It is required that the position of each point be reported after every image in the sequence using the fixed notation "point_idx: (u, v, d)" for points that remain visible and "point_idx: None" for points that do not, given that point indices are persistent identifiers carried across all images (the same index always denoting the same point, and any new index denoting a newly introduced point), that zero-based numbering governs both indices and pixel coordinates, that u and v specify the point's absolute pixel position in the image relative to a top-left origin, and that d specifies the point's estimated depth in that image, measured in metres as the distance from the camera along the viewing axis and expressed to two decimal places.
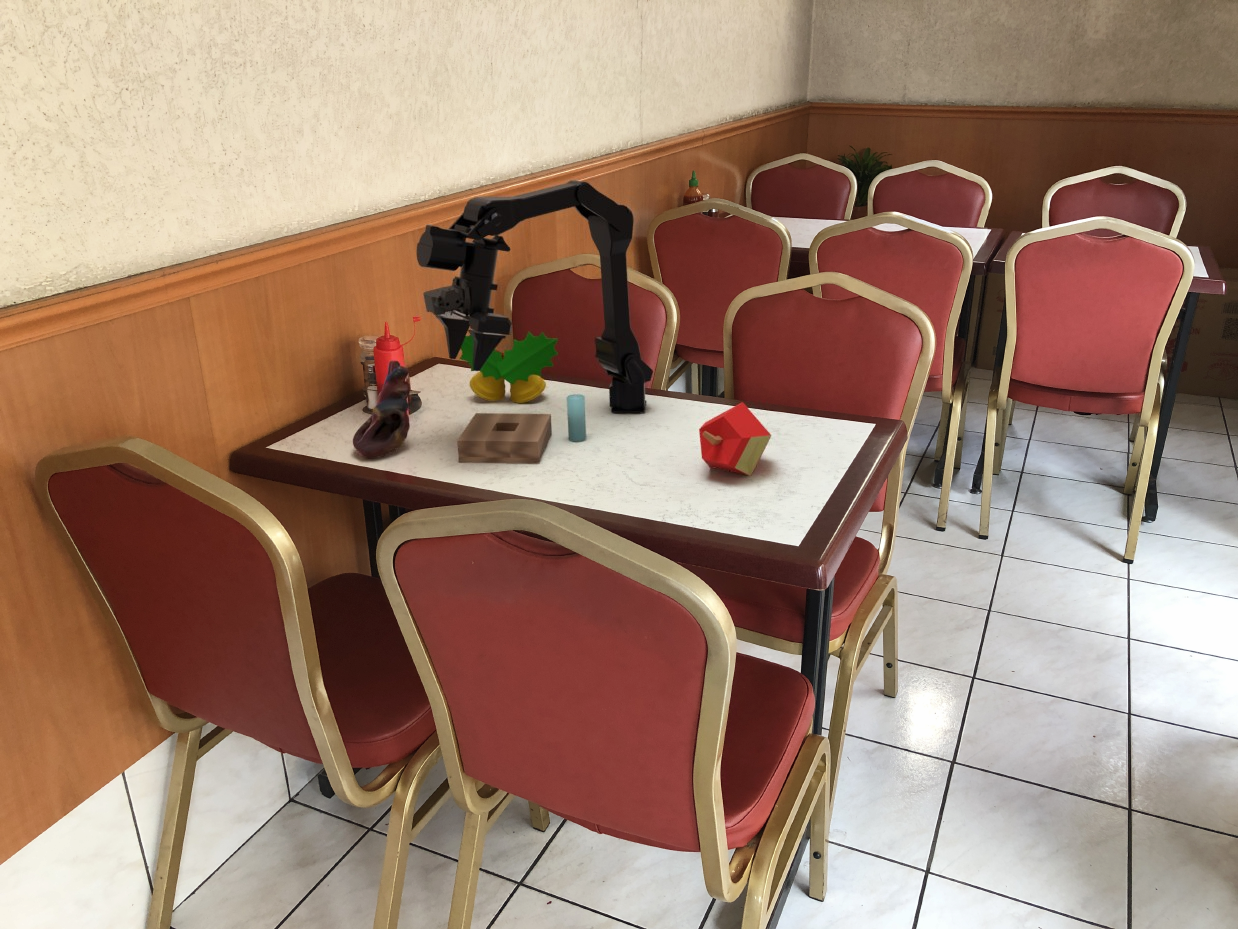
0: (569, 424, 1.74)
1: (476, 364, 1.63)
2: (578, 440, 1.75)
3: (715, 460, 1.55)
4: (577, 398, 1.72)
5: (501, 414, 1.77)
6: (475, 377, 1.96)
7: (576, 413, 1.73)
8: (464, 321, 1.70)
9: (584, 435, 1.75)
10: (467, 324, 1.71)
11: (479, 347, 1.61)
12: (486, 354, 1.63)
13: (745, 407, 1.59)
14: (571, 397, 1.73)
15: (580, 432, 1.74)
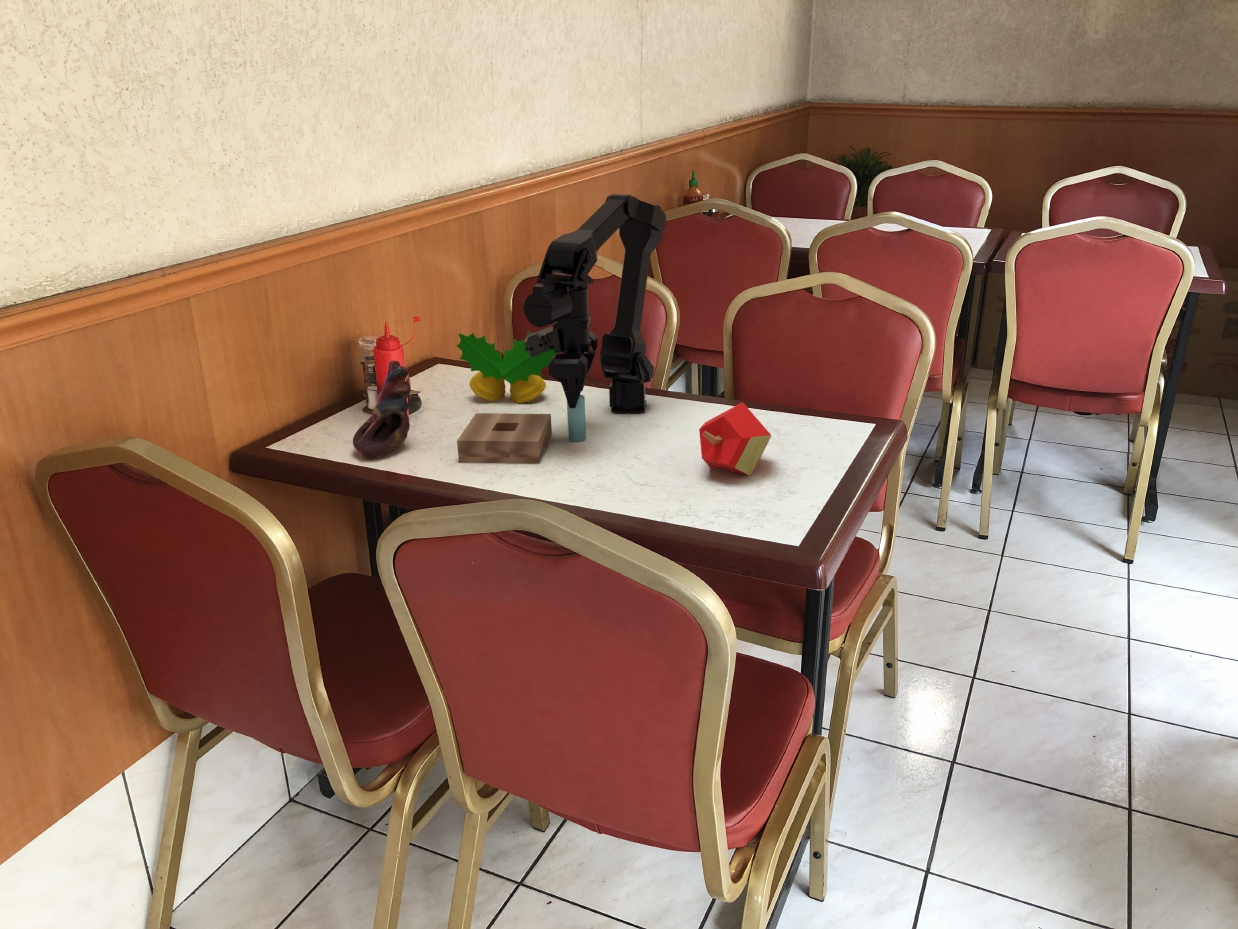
0: (569, 424, 1.74)
1: (569, 402, 1.68)
2: (578, 440, 1.75)
3: (715, 460, 1.55)
4: None
5: (501, 414, 1.77)
6: (475, 377, 1.96)
7: (576, 413, 1.73)
8: (586, 355, 1.75)
9: (584, 435, 1.75)
10: (590, 357, 1.75)
11: (565, 387, 1.66)
12: (576, 392, 1.67)
13: (745, 407, 1.59)
14: None
15: (580, 432, 1.74)
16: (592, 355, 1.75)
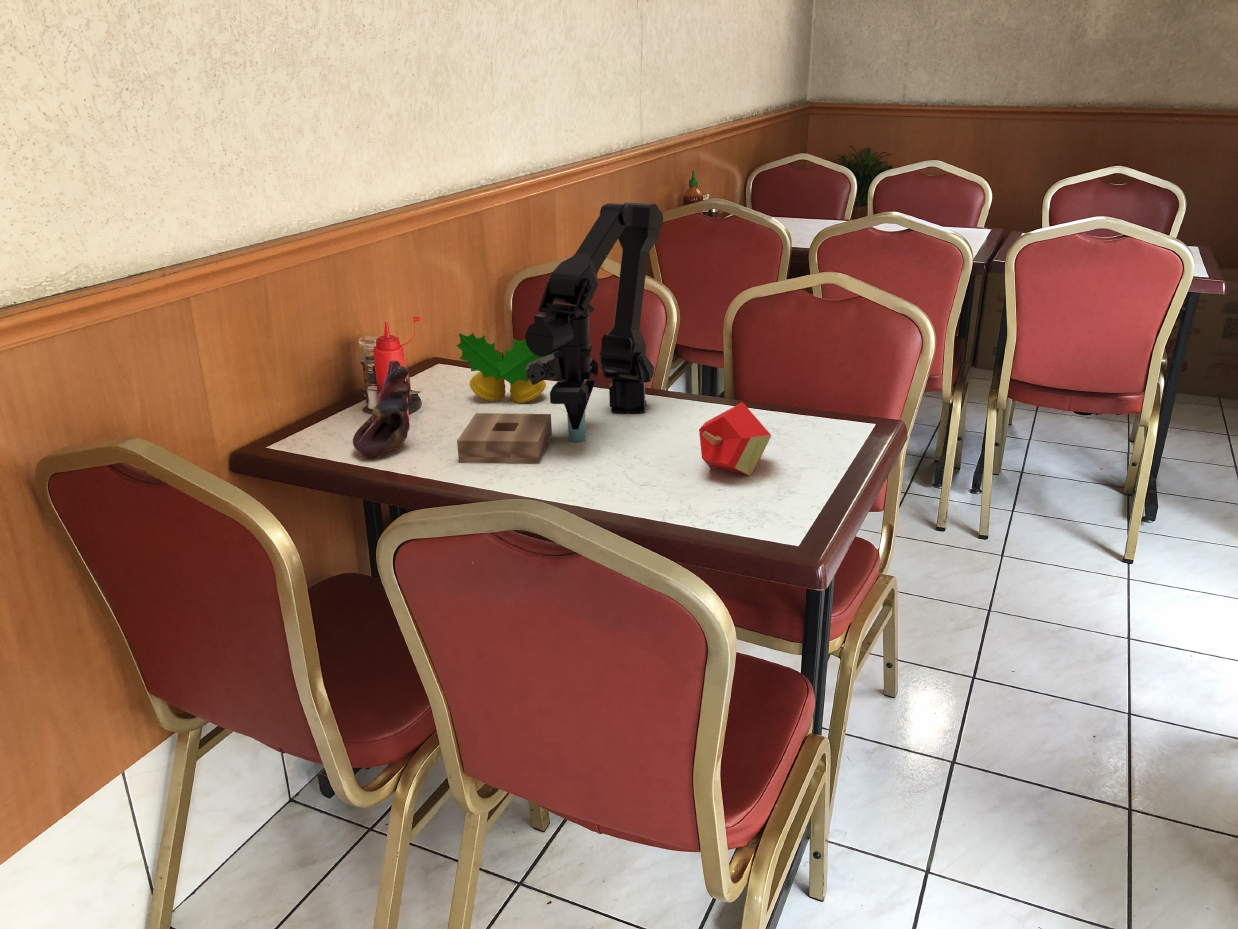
0: (569, 424, 1.74)
1: (572, 423, 1.73)
2: (578, 440, 1.74)
3: (715, 460, 1.55)
4: None
5: (501, 414, 1.77)
6: (475, 377, 1.96)
7: None
8: None
9: (584, 435, 1.75)
10: (589, 389, 1.74)
11: (568, 408, 1.71)
12: (579, 414, 1.71)
13: (745, 407, 1.59)
14: None
15: (580, 432, 1.74)
16: (591, 386, 1.74)
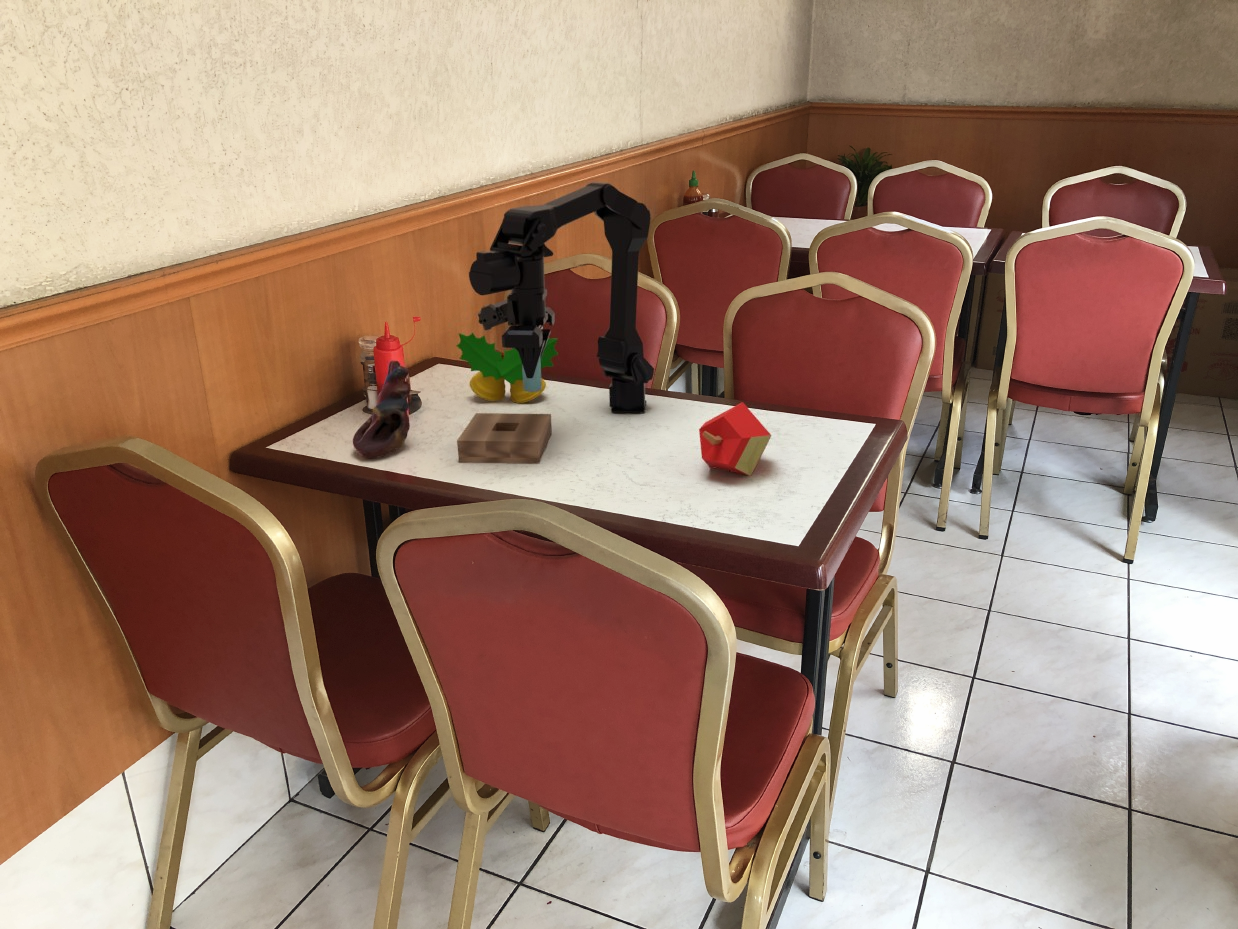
0: (524, 373, 1.68)
1: (526, 372, 1.66)
2: (533, 390, 1.68)
3: (715, 460, 1.55)
4: None
5: (501, 414, 1.77)
6: (475, 377, 1.96)
7: None
8: (541, 334, 1.68)
9: (539, 385, 1.69)
10: (544, 337, 1.68)
11: (522, 355, 1.64)
12: (533, 362, 1.65)
13: (745, 407, 1.59)
14: None
15: (535, 381, 1.68)
16: (546, 334, 1.68)
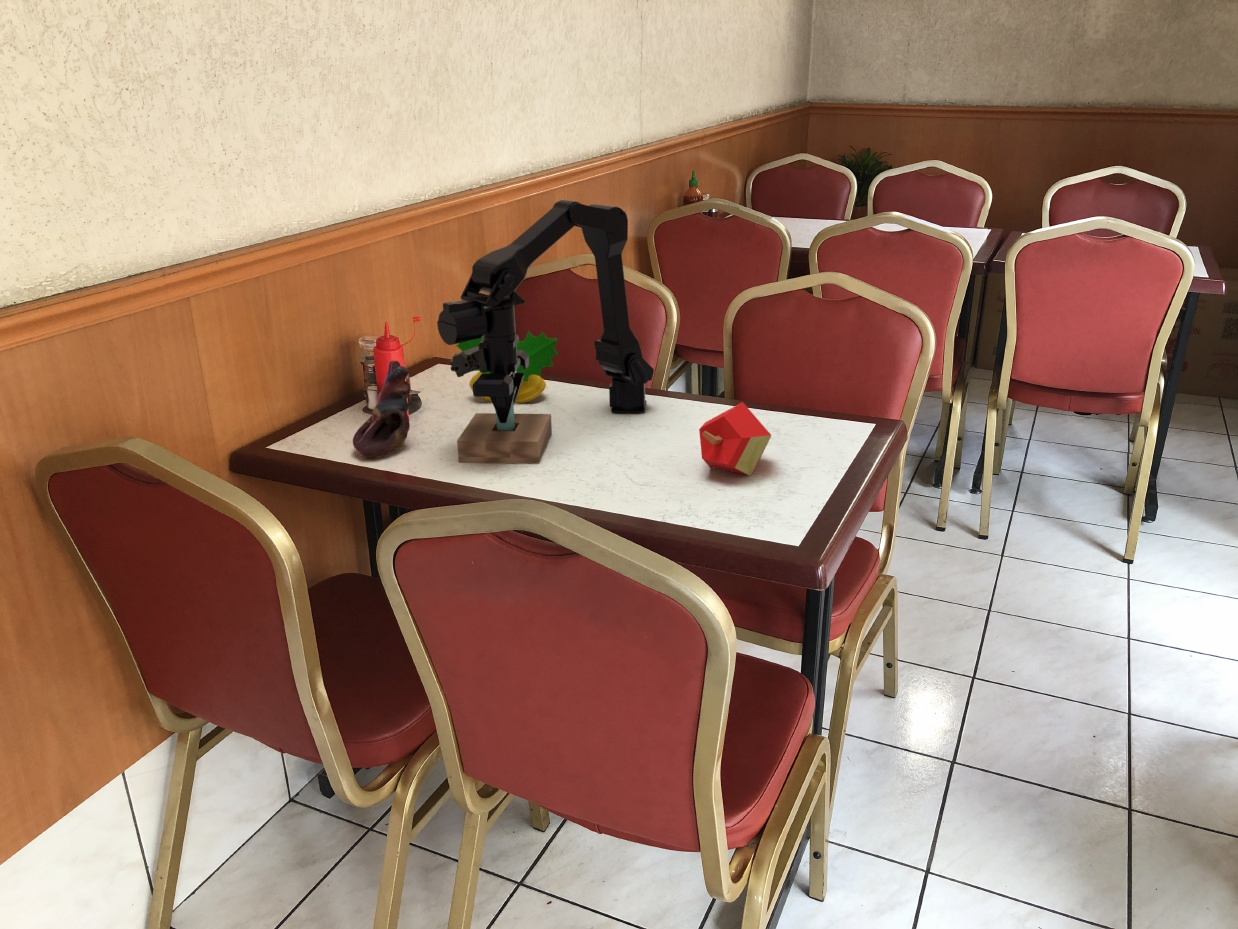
0: (497, 417, 1.69)
1: (499, 417, 1.68)
2: None
3: (715, 460, 1.55)
4: None
5: None
6: (475, 377, 1.96)
7: None
8: (514, 379, 1.70)
9: (513, 429, 1.70)
10: (517, 381, 1.70)
11: (494, 402, 1.66)
12: (506, 407, 1.67)
13: (745, 407, 1.59)
14: None
15: (508, 426, 1.69)
16: (519, 379, 1.70)
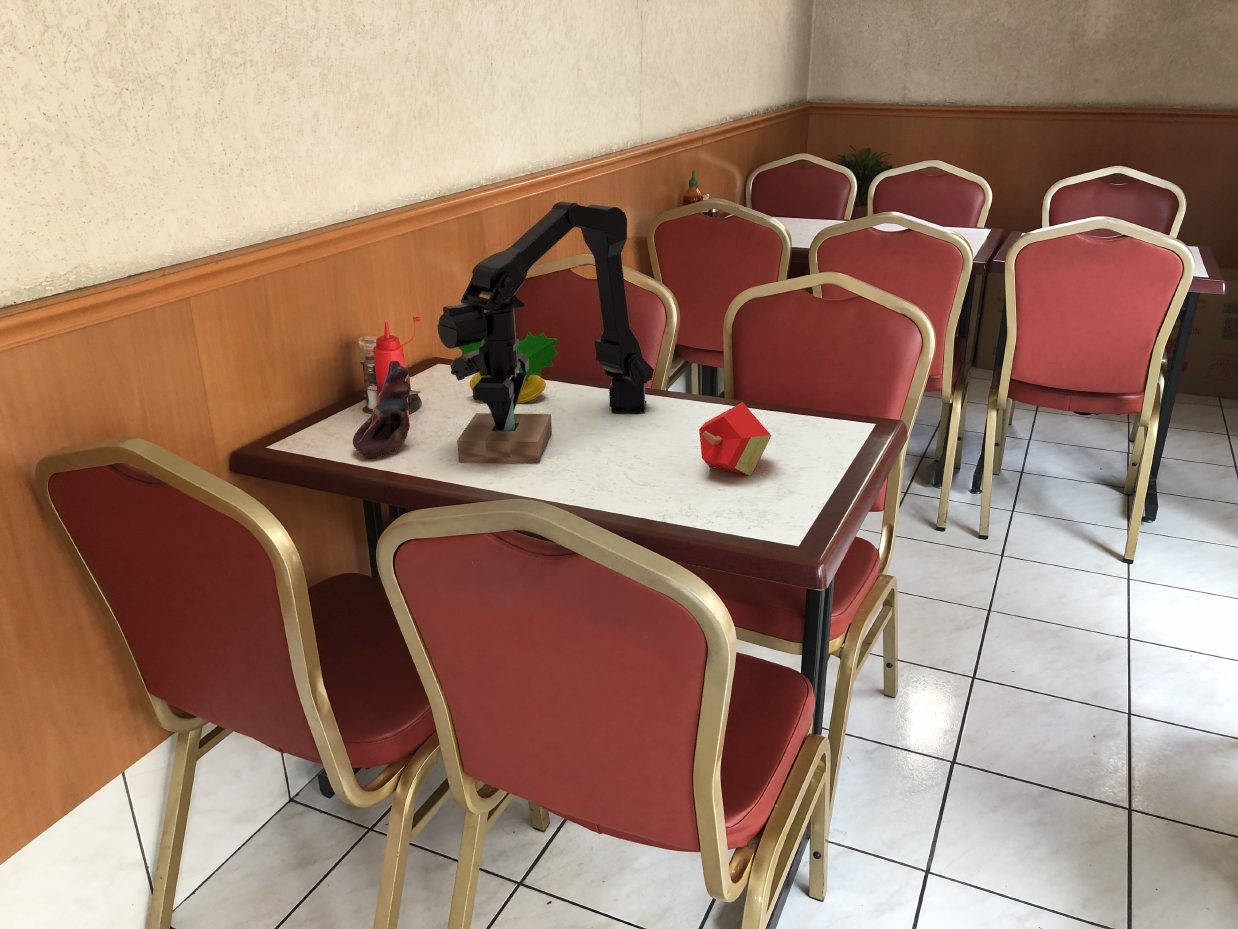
0: None
1: (497, 424, 1.66)
2: None
3: (715, 460, 1.55)
4: None
5: None
6: (475, 377, 1.96)
7: None
8: (516, 378, 1.72)
9: None
10: (520, 381, 1.72)
11: (492, 409, 1.64)
12: (503, 415, 1.65)
13: (745, 407, 1.59)
14: None
15: None
16: (522, 379, 1.72)
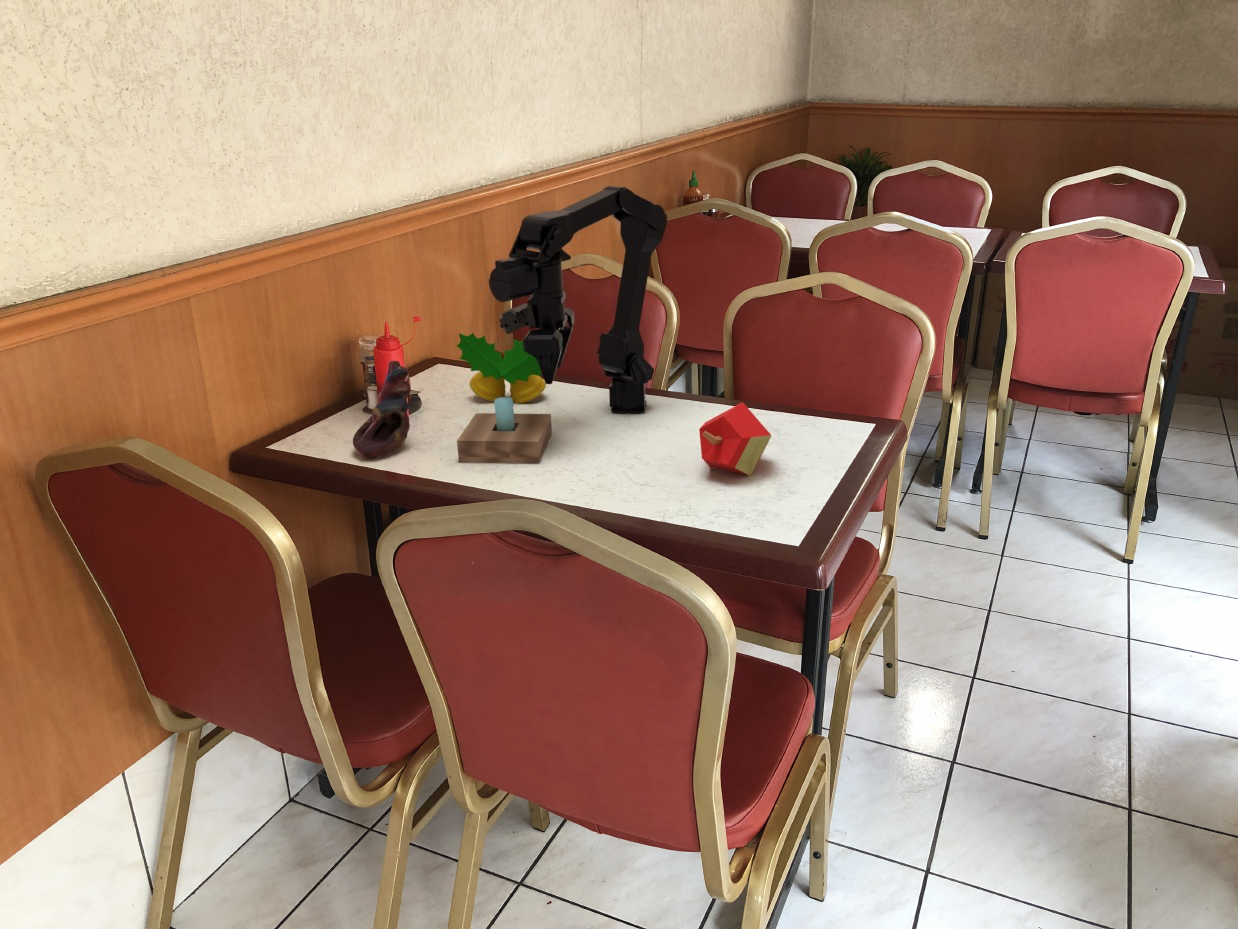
0: (497, 427, 1.70)
1: (545, 378, 1.69)
2: None
3: (715, 460, 1.55)
4: (505, 401, 1.68)
5: None
6: (475, 377, 1.96)
7: (504, 416, 1.69)
8: (563, 331, 1.75)
9: None
10: (567, 333, 1.76)
11: (540, 363, 1.67)
12: (552, 368, 1.67)
13: (745, 407, 1.59)
14: (499, 400, 1.69)
15: None
16: (569, 331, 1.75)
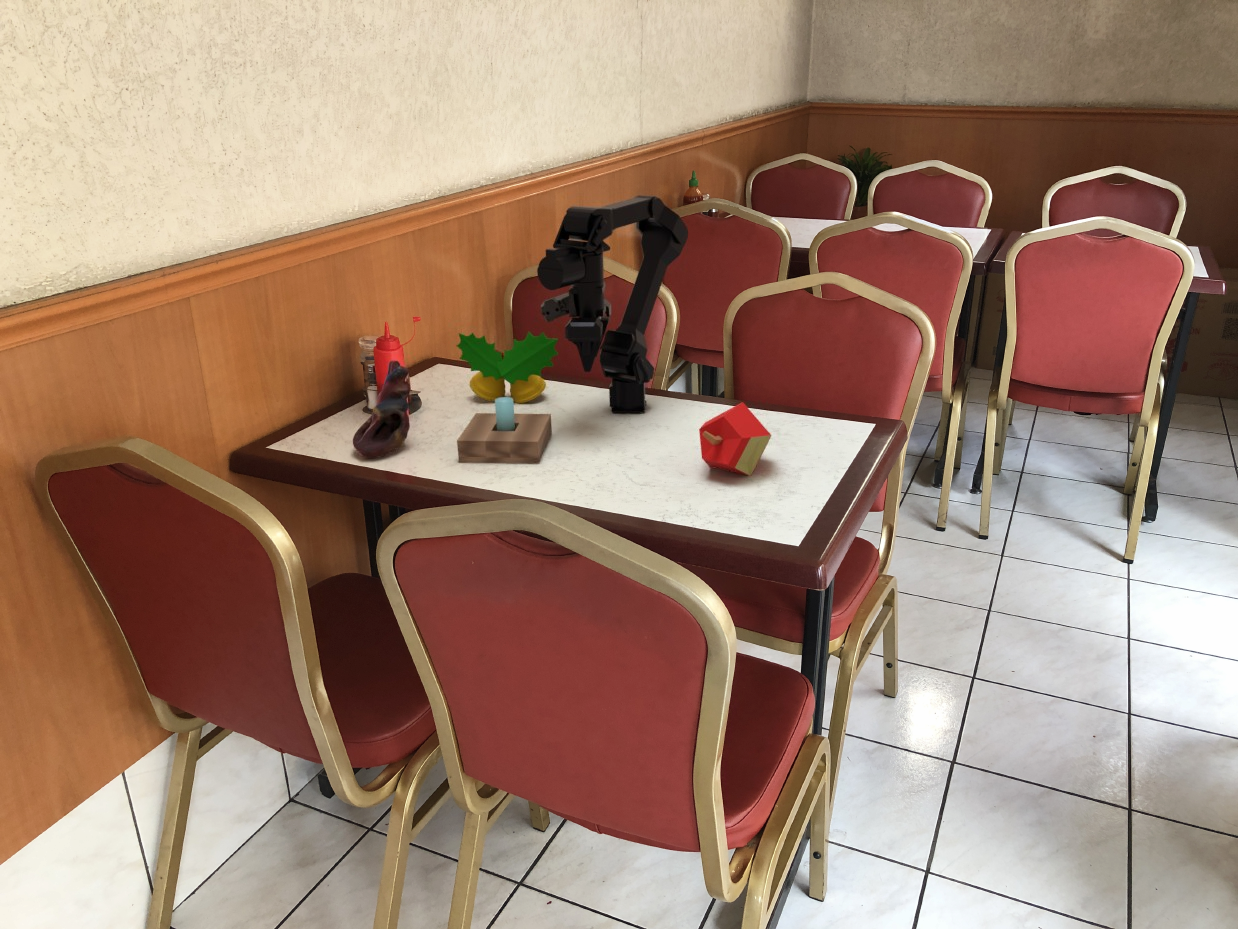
0: (498, 427, 1.70)
1: (584, 366, 1.73)
2: None
3: (715, 460, 1.55)
4: (505, 401, 1.68)
5: None
6: (475, 377, 1.96)
7: (504, 416, 1.69)
8: (601, 321, 1.80)
9: None
10: (604, 324, 1.80)
11: (580, 350, 1.70)
12: (591, 356, 1.71)
13: (745, 407, 1.59)
14: (499, 400, 1.69)
15: None
16: (606, 321, 1.80)
